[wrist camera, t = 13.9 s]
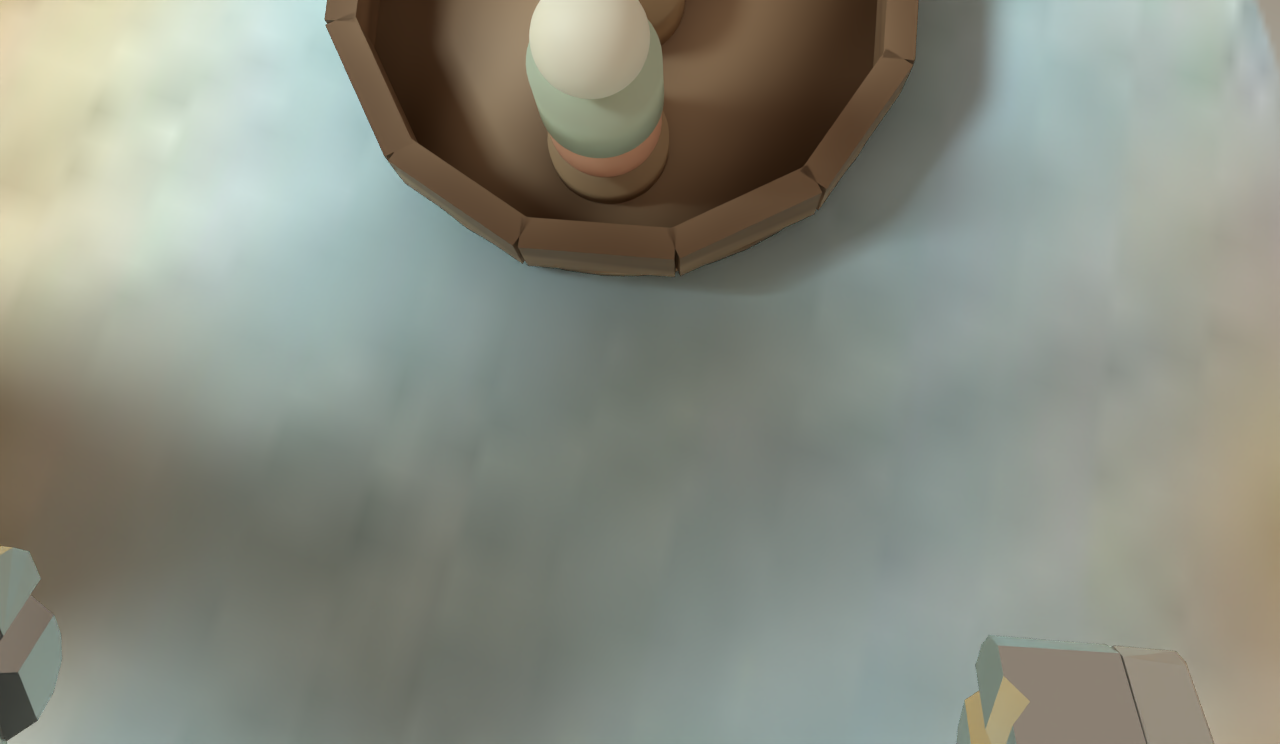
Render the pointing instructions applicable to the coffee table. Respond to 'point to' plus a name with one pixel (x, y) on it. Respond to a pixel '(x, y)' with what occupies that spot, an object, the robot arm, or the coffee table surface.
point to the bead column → (600, 95)
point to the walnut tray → (693, 105)
